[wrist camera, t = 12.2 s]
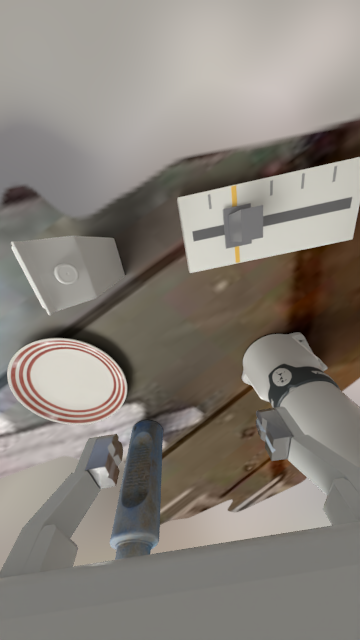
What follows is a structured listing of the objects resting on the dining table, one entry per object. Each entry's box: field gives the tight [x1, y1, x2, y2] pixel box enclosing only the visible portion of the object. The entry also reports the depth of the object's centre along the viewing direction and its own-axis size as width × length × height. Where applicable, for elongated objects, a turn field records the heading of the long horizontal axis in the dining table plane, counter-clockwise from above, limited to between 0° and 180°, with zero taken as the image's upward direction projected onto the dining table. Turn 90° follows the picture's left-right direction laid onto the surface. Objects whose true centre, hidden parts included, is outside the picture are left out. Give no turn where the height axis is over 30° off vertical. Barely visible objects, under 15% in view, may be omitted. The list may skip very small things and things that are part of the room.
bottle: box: [110, 420, 163, 560], centre depth 42 cm, size 10×10×30 cm
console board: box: [177, 157, 360, 273], centre depth 31 cm, size 30×12×3 cm, turn 101°
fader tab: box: [223, 203, 263, 249], centre depth 27 cm, size 4×6×6 cm
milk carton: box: [11, 236, 125, 315], centre depth 25 cm, size 7×7×19 cm
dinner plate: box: [7, 338, 127, 425], centre depth 44 cm, size 28×27×3 cm
